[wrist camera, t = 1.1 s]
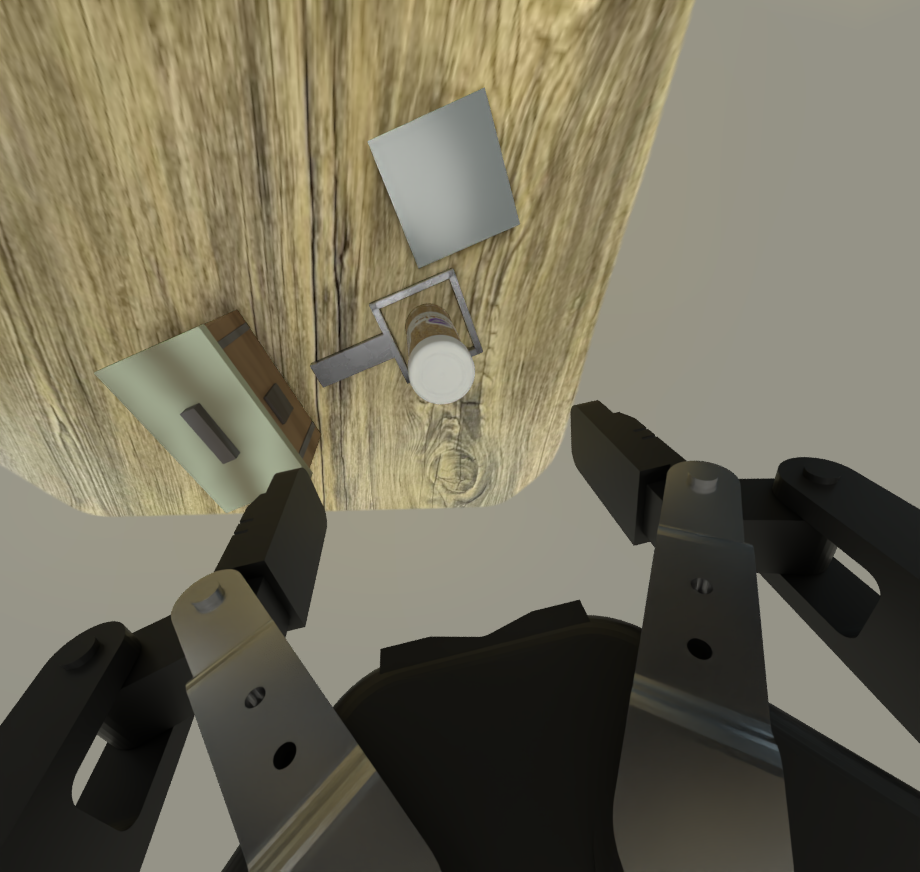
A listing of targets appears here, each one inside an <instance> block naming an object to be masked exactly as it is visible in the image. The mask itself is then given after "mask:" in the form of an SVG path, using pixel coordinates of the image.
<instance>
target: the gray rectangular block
mask: <svg viewBox="0 0 920 872" xmlns="http://www.w3.org/2000/svg"><path fill="white" fill-rule="evenodd" d="M368 144H369V147H370V150H371V152H372V155H373V157H374V159H375V162H376V164H377V167H378V169H379V172H380V174H381V177H382V179H383V182H384V184H385V187H386V189H387V192H388V194H389V197H390V199H391V202H392V204H393V207H394V209H395V212H396V214H397V217H398V219H399V222H400V224H401V226H402V229H403V231H404V234H405V236H406V239H407V241H408V244H409V246H410V249H411V251H412V254H413V256H414V259H415V261H416V264H417V266H418V268H421V267H423V266H425V265H428V264H430V263H432V262H434V261H437V260H439V259H441V258H444V257H446V256H448V255H450V254H453V253H455V252H457V251H460V250H462V249H464V248H467V247H469V246H471V245H473V244H476V243H478V242H480V241H483V240H485V239H487V238H489V237H492V236H494V235H496V234H499V233H501V232H503V231H506V230H508V229H510V228H512V227H515V226H517V225H519V224H520V223H519V219H518V215H517V211H516V207H515V203H514V200H513V196H512V192H511V188H510V184H509V180H508V176H507V172H506V169H505V165H504V161H503V157H502V153H501V149H500V145H499V141H498V138H497V134H496V130H495V126H494V122H493V118H492V114H491V110H490V107H489V103H488V99H487V95H486V91H485V88H483V89H480V90H478V91H476V92H474V93H472V94H469V95H467V96H465V97H463V98H461V99H459V100H456V101H454V102H452V103H450V104H448V105H446V106H443V107H441V108H439V109H437V110H435V111H432V112H430V113H428V114H426V115H424V116H422V117H419V118H417V119H415V120H413V121H411V122H409V123H406V124H404V125H402V126H400V127H398V128H395V129H393V130H391V131H389V132H387V133H385V134H382V135H380V136H378V137H376V138H374V139H372V140H369V141H368Z"/></svg>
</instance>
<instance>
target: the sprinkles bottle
mask: <svg viewBox="0 0 920 872" xmlns="http://www.w3.org/2000/svg"><path fill="white" fill-rule="evenodd" d="M405 328H406V334H407V344H408V354H409V360H408V375H409V380H410V383H411V386H412V388H413V389H414V391H415V392H416V393H417V394H418V395H419V396H420V397H421V398H422V399H424V400H426V401H428V402H430V403H434V404H448V403H452V402H455V401H457V400H458V399H460V398H462V397H463V396H464V395H465V394H466V393H467V392H468V391H469V389H470V388H471V386H472V384H473V381H474V377H475V366H474V362H473V360H472V357H471V355H470V353H469V351H468V349H467V348H466V346H465V345H464V344H463V343H462V342H461V341H460V338H459V336H458V333H457V331H456V329H455V327H454V325H453V324H452V322H451V320H450V317H449V315H448V313H447V312H446V311H445V310H444V309H442V308H441V307H439V306H437V305H434V304H423V305H420V306H418V307H416V308H415V309H414V310H413V311H412V312H411V313H410V314H409V316H408V318H407V321H406V325H405Z"/></svg>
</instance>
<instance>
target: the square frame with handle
mask: <svg viewBox="0 0 920 872" xmlns="http://www.w3.org/2000/svg"><path fill="white" fill-rule="evenodd" d="M447 279H449V280H450V283H451V286H452V288H453V291H454V294H455V297H456V299H457V302H458V305H459V307H460V310H461V313H462V316H463V318H464V321H465V324H466V326H467V329H468V332H469V335H470V337H471V340H472V343H473V345H474V346H472V347H470V348H468V351H469V353H470V355H471V357H472V356H475V355H477V354H479V353H482V352H483V350H482V348H481V345H480V342H479V339H478V336H477V334H476V331H475V328H474V325H473V322H472V320H471V317H470V314H469V311H468V308H467V306H466V303H465V300H464V297H463V295H462V292H461V289H460V286H459V283H458V281H457V278H456V275H455V272H454V269H453V268H450V269H448V270H446V271H443V272H441V273H439V274H436V275H434V276H432V277H429V278H427V279H425V280H422V281H420V282H418V283H416V284H413V285H411V286H409V287H406V288H404V289H402V290H399V291H397V292H395V293H392V294H390V295H388V296H386V297H383V298H381V299H379V300H376V301H374V302H372V303H370V304H369V306H370V308H371V310H372V312H373V314H374V316H375V318H376V320H377V322H378V324H379V326H380V329H381V331H382V333H381V334H379V335H377V336H374V337H372V338H370V339H367V340H365V341H363V342H360V343H358V344H356V345H353V346H351V347H349V348H346V349H344V350H342V351H339V352H337V353H335V354H332V355H330V356H328V357H325V358H323V359H321V360H318V361H316V362H314V363H311V365H310V367H311V369H312V370H313V372H314V373H315V375H316V377H317V378H318V380H319V382H320V383H321V385H322V386H323V387H326V386H328V385H331V384H333V383H335V382H338V381H340V380H342V379H345V378H347V377H349V376H352V375H354V374H357V373H359V372H361V371H364V370H366V369H368V368H371V367H373V366H375V365H378V364H380V363H383V362H385V361H387V360H390V359H392V358H394V357H395V359H396V361H397V363H398V365H399V367H400V369H401V371H402V374H403V376H404V378H405V380H406V382H407V384H408V383H410V380H409V375H408V367H407V365H406V363H405V361H404V359H403V357H402V355H401V353H400V351H399V348H398V346H397V344H396V342H395V340H394V338H393V336H392V334H391V332H390V330H389V327H388V325H387V323H386V321H385V319H384V317H383V315H382V313H381V311H380V308H382V307H384V306H387V305H389V304H391V303H394V302H396V301H398V300H401V299H403V298H405V297H408V296H410V295H412V294H415V293H417V292H419V291H421V290H424V289H426V288H428V287H431V286H433V285H435V284H438V283H440V282H442V281H445V280H447Z"/></svg>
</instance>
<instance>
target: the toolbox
mask: <svg viewBox="0 0 920 872" xmlns="http://www.w3.org/2000/svg"><path fill="white" fill-rule="evenodd" d="M94 374H95V375H96V376H97V377H98V378H99V379H100V380H101V381H102V382H103V383H104V384H105V385H106V387H107V388H108V389H109V390H110V391H111V392H112V393H113V394H114V395H115V396H116V397H117V398H118V399H119V400H120V401H121V402H122V403H123V404H124V406H125V407H126V408H127V409H128V410H129V411H130V412H131V413H132V414H133V415H134V416H135V417H136V418H137V419H138V420H139V421H140V422H141V424H142V425H143V426H144V427H145V428H146V429H147V430H148V431H149V432H150V433H151V434H152V435H153V436H154V437H155V438H156V439H157V440H158V441H159V443H160V444H161V445H162V446H163V447H164V448H165V449H166V450H167V451H168V452H169V453H170V454H171V455H172V456H173V457H174V458H175V459H176V461H177V462H178V463H179V464H180V465H181V466H182V467H183V468H184V469H185V470H186V471H187V472H188V473H189V474H190V475H191V476H192V477H193V478H194V480H195V481H196V482H197V483H198V484H199V485H200V486H201V487H202V488H203V489H204V490H205V491H206V492H207V493H208V494H209V495H210V496H211V497H212V499H213V500H214V501H215V502H216V503H217V504H218V505H219V506H220V507H221V508H222V509H223V510H224V511H225V512H226V513H228V512H230V511H233V510H235V509H238V508H240V507H243V506H245V505H247V504H250V503H252V502H253V501H254V500H255V499H256V498H257V497H258V496H259V495H260V494H263V493H266V491H267V489H268V487H269V485H270V482H271V480H272V478H273V476H274V475H275V474H276V473H279V472H283V471H288V470H292V469H297V468H301V467H303V468H304V469H305V470H306V471H307V472H308V474H309V476H310V479H311V476H312V471H311V470H310V465H311V462H312V460H313V457H314V454H315V451H316V448H317V445H318V442H319V439H320V436H321V434H320V432H319V431H318V429H317V428H316V426H315V425H314V423H313V422H312V420H311V419H310V417H309V416H308V414H307V413H306V411H305V410H304V408H303V407H302V405H301V404H300V402H299V401H298V399H297V398H296V396H295V395H294V393H293V392H292V390H291V389H290V388H289V386H288V385H287V383H286V382H285V380H284V379H283V377H282V376H281V374H280V373H279V371H278V370H277V368H276V367H275V365H274V364H273V362H272V361H271V359H270V358H269V356H268V355H267V353H266V352H265V350H264V349H263V347H262V346H261V344H260V343H259V341H258V340H257V338H256V337H255V335H254V334H253V332H252V331H251V329H250V328H249V326H248V325H247V323H246V322H245V320H244V319H243V317H242V316H241V314H240V313H239V311H238V310H235V311H233V312H231V313H228V314H226V315H224V316H222V317H219V318H217V319H215V320H213V321H210V322H208V323H206V324H202V325H200V326H198V327H195V328H193V329H191V330H188V331H186V332H184V333H182V334H179V335H177V336H175V337H173V338H170V339H168V340H166V341H164V342H161V343H159V344H157V345H155V346H152V347H150V348H148V349H145V350H143V351H141V352H139V353H136V354H134V355H132V356H130V357H127V358H125V359H123V360H121V361H118V362H116V363H114V364H112V365H109V366H107V367H105V368H102V369H100V370H98V371H97V372H95V373H94Z"/></svg>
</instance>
